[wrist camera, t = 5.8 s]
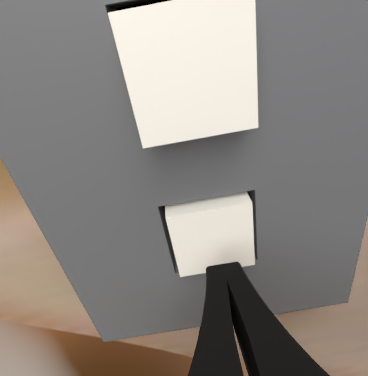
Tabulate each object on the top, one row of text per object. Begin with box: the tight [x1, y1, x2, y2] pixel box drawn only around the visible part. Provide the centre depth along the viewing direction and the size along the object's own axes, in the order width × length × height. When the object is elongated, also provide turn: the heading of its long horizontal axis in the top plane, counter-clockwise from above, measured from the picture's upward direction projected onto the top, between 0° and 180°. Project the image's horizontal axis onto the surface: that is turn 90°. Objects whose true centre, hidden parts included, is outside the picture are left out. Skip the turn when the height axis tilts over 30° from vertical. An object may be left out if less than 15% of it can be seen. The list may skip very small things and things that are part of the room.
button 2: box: [165, 191, 255, 277], centre depth 15 cm, size 4×4×2 cm
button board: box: [0, 0, 368, 342], centre depth 11 cm, size 16×31×2 cm, turn 9°
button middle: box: [108, 0, 258, 148], centre depth 10 cm, size 4×4×2 cm
